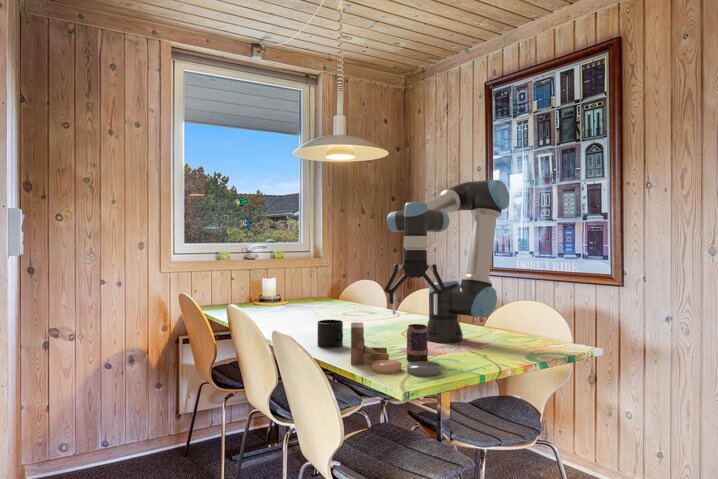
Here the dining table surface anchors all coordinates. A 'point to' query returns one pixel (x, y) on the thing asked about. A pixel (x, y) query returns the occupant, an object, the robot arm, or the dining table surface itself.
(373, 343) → the dining table surface
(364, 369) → the dining table surface
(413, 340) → the mug
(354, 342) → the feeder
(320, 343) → the mug
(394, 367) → the pink disc
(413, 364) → the stand slate
